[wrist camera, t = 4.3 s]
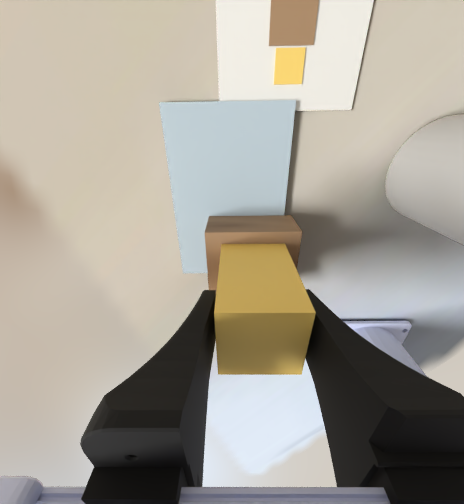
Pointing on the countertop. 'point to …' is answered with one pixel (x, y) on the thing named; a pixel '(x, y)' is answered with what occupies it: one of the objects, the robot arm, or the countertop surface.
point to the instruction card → (291, 51)
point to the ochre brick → (261, 311)
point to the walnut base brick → (248, 237)
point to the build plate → (225, 164)
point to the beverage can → (431, 177)
